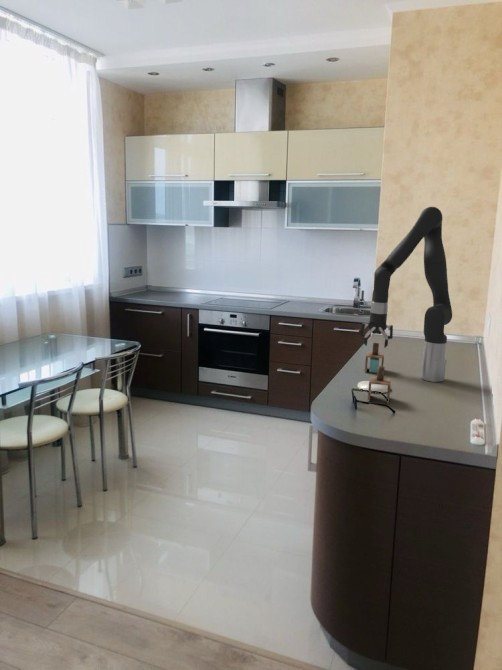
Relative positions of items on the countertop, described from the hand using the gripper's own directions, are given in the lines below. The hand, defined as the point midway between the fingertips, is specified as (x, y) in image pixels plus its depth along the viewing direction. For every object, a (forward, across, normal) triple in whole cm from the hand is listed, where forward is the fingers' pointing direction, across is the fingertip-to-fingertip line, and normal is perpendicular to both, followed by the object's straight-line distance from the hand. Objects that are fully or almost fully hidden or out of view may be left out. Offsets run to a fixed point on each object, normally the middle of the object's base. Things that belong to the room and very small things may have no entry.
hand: (375, 346), depth 254 cm
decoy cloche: (+11, -4, +42) cm, 43 cm away
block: (+12, 0, 0) cm, 12 cm away
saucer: (+11, -1, +27) cm, 30 cm away
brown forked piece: (+12, 0, +1) cm, 12 cm away
